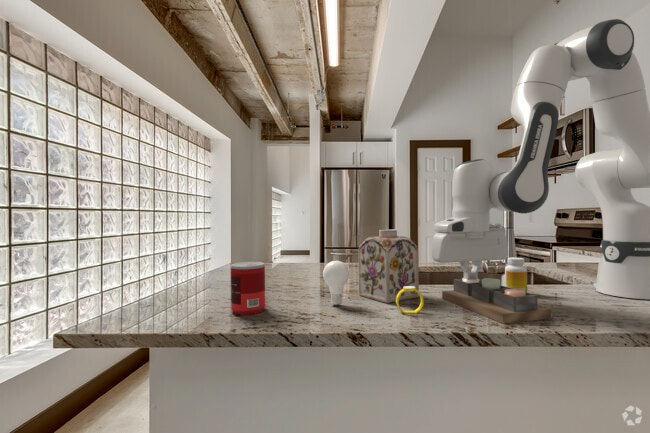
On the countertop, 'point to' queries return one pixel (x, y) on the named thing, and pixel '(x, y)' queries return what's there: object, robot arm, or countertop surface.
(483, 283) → the sage button
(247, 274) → the canned food
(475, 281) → the cream button
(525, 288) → the supplement bottle
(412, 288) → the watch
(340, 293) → the lightbulb
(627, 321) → the countertop surface
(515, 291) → the terracotta button
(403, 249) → the decorative jar
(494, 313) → the button board
